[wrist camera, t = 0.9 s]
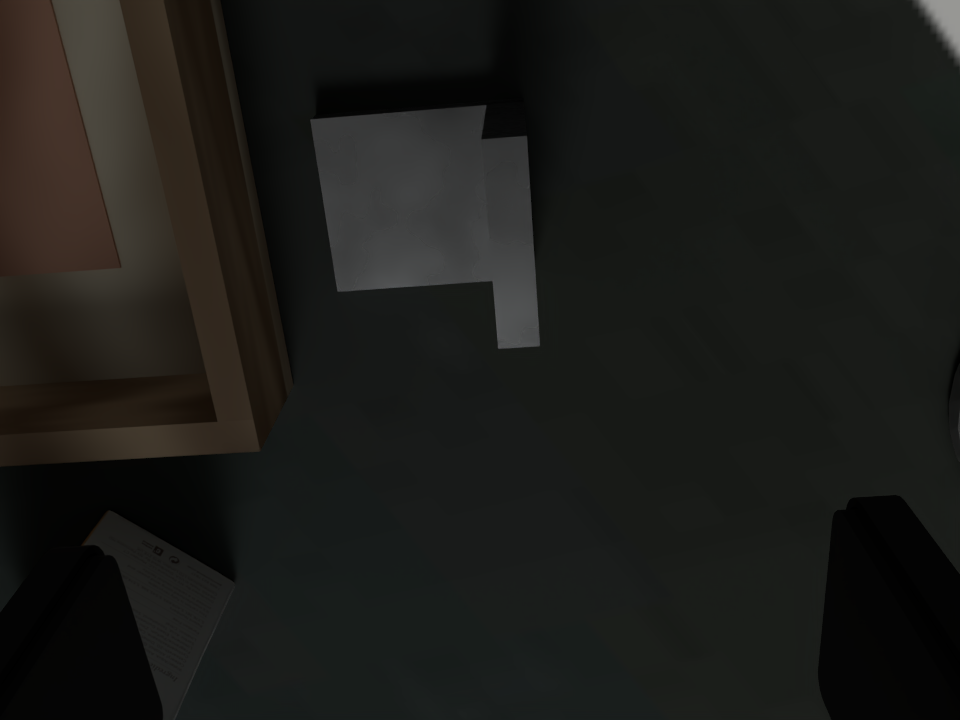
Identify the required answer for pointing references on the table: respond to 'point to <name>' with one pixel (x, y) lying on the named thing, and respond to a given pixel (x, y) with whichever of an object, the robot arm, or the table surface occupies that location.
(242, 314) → the wooden tray
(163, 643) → the small box
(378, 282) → the bracket
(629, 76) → the table surface
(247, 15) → the table surface
